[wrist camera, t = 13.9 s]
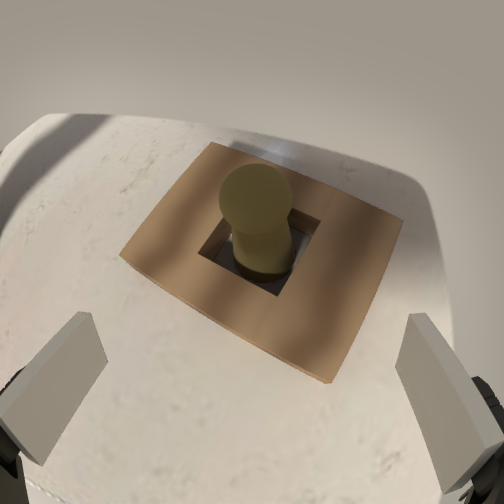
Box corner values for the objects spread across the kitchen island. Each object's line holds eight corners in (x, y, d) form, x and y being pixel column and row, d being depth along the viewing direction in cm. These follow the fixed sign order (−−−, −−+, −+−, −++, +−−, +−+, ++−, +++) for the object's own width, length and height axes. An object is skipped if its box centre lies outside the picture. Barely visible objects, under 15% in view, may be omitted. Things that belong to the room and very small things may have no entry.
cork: (257, 217, 31) (244, 140, 21) (307, 246, 29) (316, 172, 19) (221, 262, 29) (190, 195, 19) (272, 295, 27) (264, 239, 17)
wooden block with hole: (134, 268, 30) (118, 254, 27) (217, 162, 35) (211, 141, 32) (325, 383, 23) (331, 383, 20) (392, 238, 29) (403, 220, 25)
